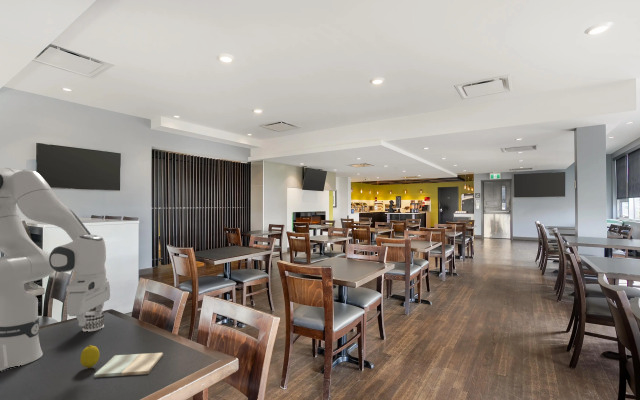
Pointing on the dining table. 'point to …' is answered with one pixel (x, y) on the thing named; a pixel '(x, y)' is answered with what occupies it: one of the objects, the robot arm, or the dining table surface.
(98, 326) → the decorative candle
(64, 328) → the dining table surface
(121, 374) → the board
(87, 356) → the lemon
